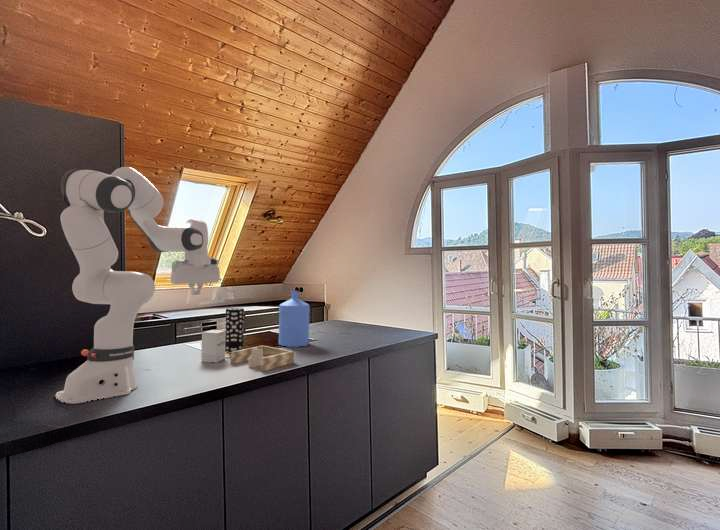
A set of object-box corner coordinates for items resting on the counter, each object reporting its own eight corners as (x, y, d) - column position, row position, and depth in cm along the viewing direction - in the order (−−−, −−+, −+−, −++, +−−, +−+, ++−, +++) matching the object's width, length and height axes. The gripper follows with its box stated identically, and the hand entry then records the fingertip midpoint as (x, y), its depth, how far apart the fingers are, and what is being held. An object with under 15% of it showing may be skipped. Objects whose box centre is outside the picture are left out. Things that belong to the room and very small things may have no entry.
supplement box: (216, 363, 177) (217, 333, 177) (200, 362, 178) (201, 332, 178) (225, 359, 184) (226, 330, 184) (210, 358, 185) (210, 329, 185)
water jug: (306, 348, 210) (307, 292, 210) (275, 347, 211) (276, 291, 210) (310, 342, 226) (311, 290, 226) (281, 341, 226) (282, 289, 226)
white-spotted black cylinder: (247, 350, 202) (247, 309, 202) (233, 353, 195) (234, 310, 195) (235, 348, 207) (235, 307, 206) (221, 351, 200) (222, 309, 199)
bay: (262, 371, 165) (262, 358, 165) (230, 363, 176) (230, 351, 176) (294, 363, 179) (294, 351, 179) (263, 356, 190) (263, 345, 190)
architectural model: (246, 367, 173) (246, 349, 172) (260, 364, 178) (260, 346, 178) (251, 368, 170) (251, 350, 170) (265, 365, 175) (265, 348, 175)
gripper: (176, 260, 160) (176, 296, 160) (222, 260, 176) (221, 293, 177) (167, 260, 163) (167, 295, 163) (212, 260, 180) (212, 292, 180)
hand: (195, 294), depth 170 cm, fingers closed
